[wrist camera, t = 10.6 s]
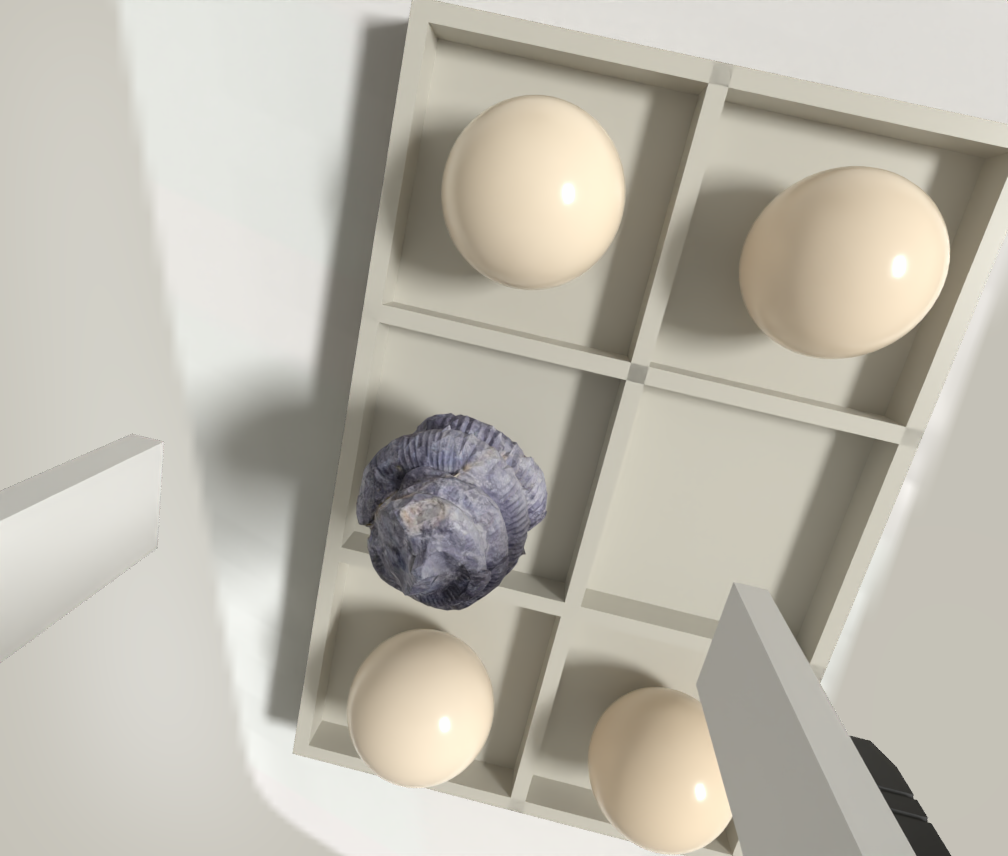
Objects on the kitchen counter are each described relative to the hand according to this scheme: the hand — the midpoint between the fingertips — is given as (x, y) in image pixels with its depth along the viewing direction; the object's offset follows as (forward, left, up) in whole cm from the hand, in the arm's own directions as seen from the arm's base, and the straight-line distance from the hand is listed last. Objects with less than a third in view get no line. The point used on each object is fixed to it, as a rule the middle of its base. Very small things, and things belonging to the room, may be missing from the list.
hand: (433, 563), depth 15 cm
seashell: (0, 0, -10) cm, 10 cm away
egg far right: (+10, +9, -10) cm, 16 cm away
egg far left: (+10, 0, -10) cm, 14 cm away
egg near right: (-9, +9, -10) cm, 16 cm away
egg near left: (-9, 0, -10) cm, 13 cm away
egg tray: (0, +4, -10) cm, 11 cm away
